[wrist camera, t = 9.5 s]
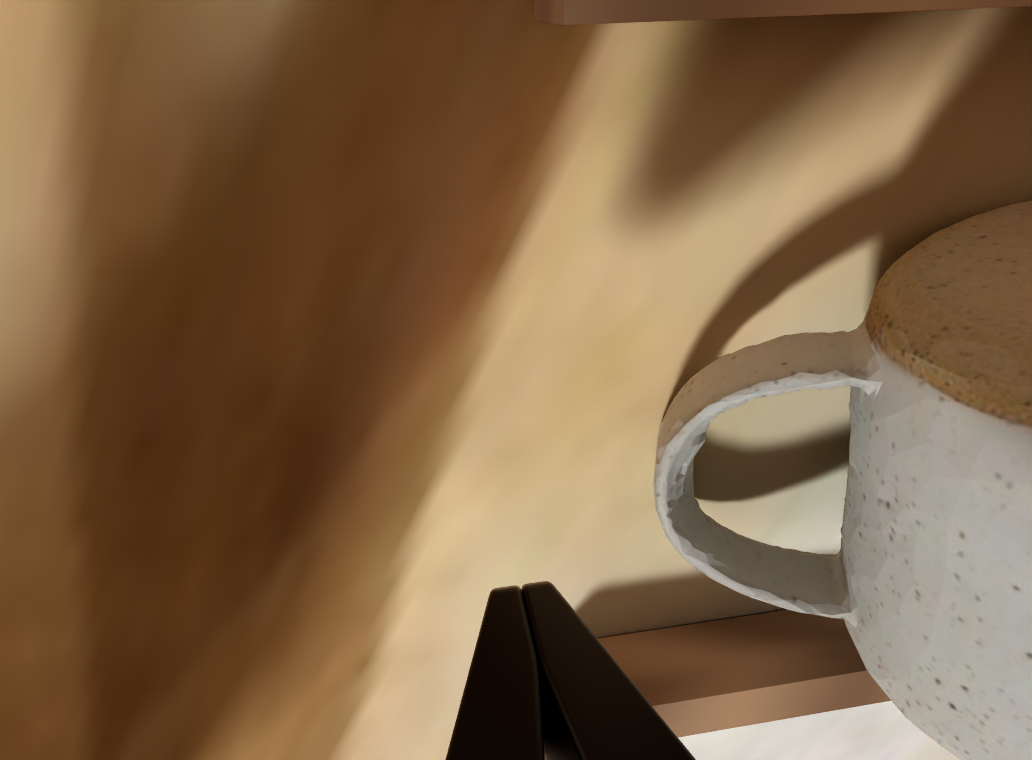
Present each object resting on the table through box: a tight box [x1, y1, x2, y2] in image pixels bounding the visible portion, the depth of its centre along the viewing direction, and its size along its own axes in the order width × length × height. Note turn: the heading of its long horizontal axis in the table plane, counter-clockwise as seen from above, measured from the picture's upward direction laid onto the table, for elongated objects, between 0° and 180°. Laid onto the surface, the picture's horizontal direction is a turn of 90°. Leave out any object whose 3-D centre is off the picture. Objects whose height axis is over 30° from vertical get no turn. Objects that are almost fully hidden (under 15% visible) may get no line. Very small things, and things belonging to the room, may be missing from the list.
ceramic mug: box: [654, 200, 1032, 760], centre depth 11 cm, size 11×8×8 cm
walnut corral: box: [534, 0, 1032, 737], centre depth 13 cm, size 14×17×2 cm
